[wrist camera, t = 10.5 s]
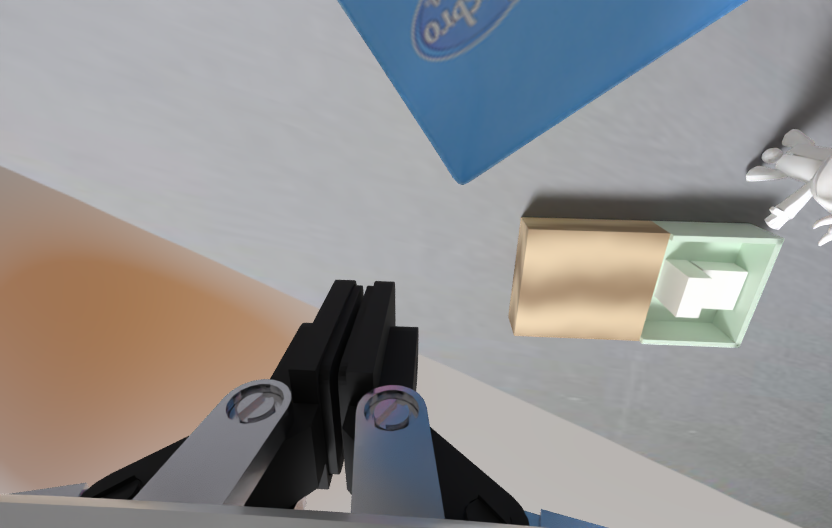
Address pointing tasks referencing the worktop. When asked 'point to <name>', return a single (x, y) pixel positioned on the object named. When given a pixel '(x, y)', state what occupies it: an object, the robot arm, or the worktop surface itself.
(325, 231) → the worktop surface
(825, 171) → the figurine
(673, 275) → the tile
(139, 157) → the worktop surface
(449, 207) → the worktop surface
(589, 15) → the game box
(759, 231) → the bin
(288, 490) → the robot arm
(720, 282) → the tile
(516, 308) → the oak plate
